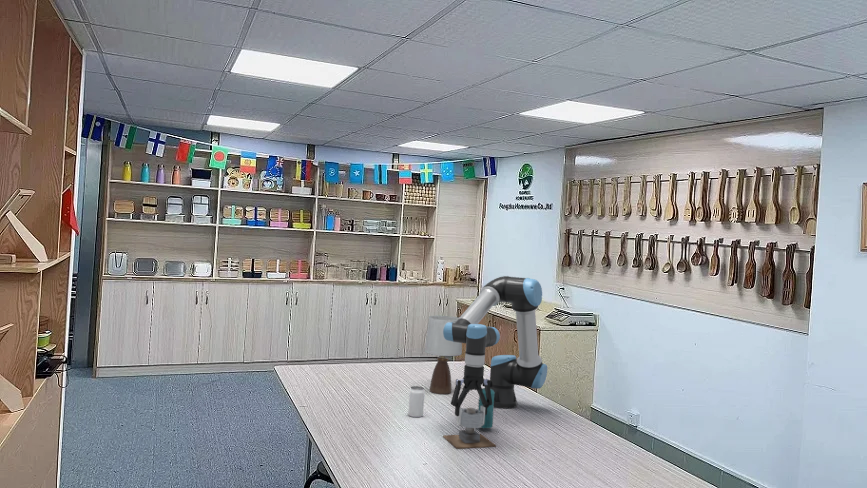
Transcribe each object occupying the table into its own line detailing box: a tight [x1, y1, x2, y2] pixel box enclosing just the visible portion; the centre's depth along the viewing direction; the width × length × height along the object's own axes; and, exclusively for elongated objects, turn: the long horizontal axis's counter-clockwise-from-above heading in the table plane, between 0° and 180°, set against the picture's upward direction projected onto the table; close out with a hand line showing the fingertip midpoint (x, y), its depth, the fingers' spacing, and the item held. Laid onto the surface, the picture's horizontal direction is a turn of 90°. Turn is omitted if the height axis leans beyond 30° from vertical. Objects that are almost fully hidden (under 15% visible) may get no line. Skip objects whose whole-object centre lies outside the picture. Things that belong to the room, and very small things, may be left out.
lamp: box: [424, 315, 463, 395], centre depth 327 cm, size 19×19×37 cm
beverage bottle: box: [477, 381, 495, 429], centre depth 267 cm, size 6×7×20 cm
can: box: [407, 385, 425, 418], centre depth 281 cm, size 6×6×12 cm
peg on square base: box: [442, 407, 497, 450], centre depth 250 cm, size 16×14×13 cm
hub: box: [459, 407, 484, 429], centre depth 250 cm, size 9×9×5 cm
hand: (470, 423), depth 250 cm, fingers closed on hub, 9 cm apart
